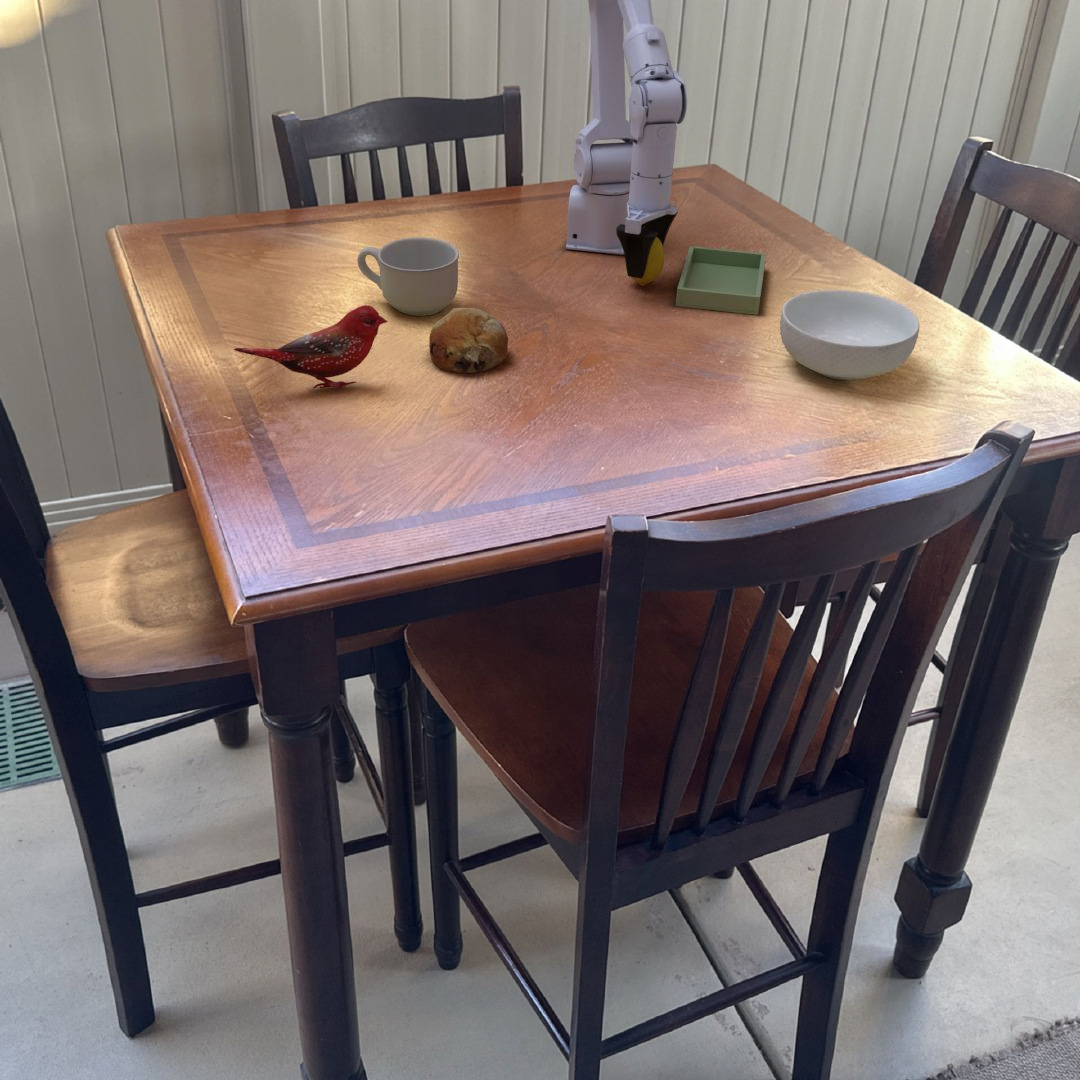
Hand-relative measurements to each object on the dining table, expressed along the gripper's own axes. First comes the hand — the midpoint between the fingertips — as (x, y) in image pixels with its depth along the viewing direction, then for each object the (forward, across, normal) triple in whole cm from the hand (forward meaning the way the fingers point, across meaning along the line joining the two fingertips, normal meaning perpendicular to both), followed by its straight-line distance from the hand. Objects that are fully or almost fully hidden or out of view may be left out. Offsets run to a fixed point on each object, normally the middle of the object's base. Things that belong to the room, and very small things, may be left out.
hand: (643, 267), depth 162 cm
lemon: (+3, 0, 0) cm, 3 cm away
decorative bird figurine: (+3, -48, +25) cm, 54 cm away
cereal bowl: (+3, -15, -31) cm, 35 cm away
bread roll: (+3, -33, +12) cm, 35 cm away
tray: (+3, +4, -11) cm, 12 cm away
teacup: (+3, -21, +27) cm, 34 cm away
